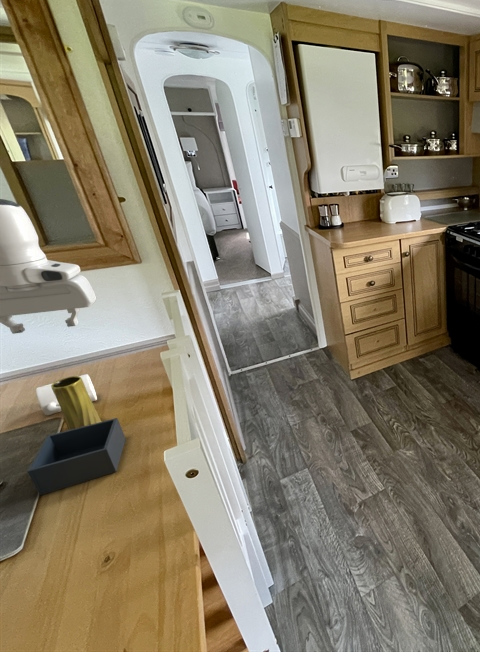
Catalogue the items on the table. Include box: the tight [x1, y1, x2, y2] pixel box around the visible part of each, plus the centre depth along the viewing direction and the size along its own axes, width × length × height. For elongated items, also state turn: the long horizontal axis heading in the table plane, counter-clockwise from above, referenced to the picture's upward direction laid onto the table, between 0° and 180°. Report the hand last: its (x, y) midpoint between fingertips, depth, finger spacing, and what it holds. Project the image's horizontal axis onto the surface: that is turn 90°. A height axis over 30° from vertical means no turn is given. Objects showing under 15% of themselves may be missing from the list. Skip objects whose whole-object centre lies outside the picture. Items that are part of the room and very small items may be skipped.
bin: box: [26, 417, 126, 496], centre depth 85 cm, size 12×12×7 cm
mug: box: [35, 373, 98, 416], centre depth 103 cm, size 12×10×8 cm
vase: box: [51, 375, 103, 430], centre depth 95 cm, size 6×6×14 cm
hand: (46, 328), depth 89 cm, fingers open, 8 cm apart
